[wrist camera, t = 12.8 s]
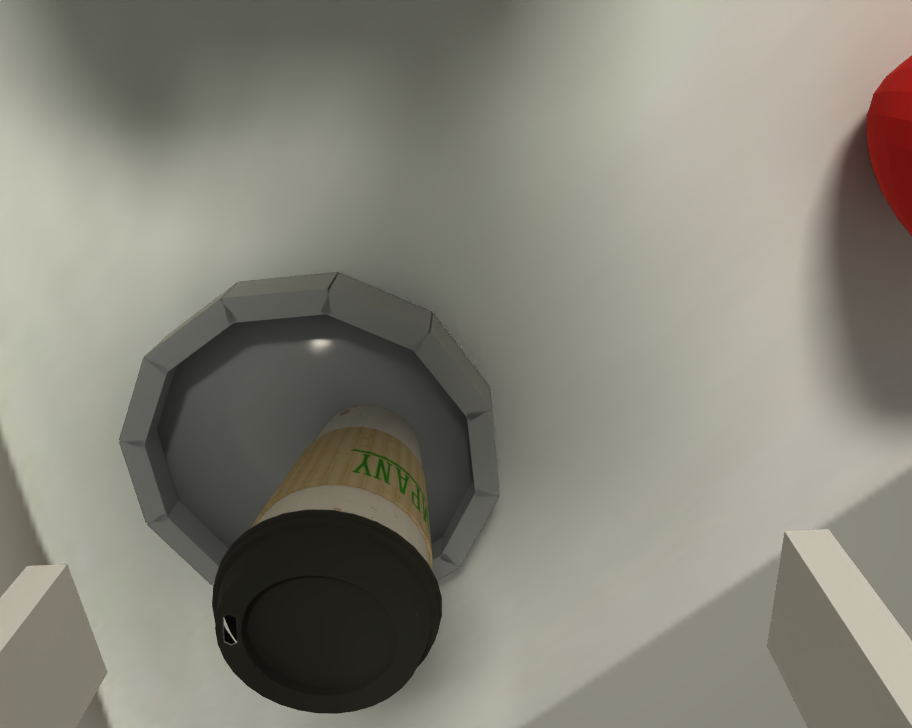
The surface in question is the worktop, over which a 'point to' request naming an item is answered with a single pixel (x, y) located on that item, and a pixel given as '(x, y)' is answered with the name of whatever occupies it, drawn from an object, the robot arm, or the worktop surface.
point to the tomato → (893, 140)
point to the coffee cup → (335, 572)
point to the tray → (300, 409)
